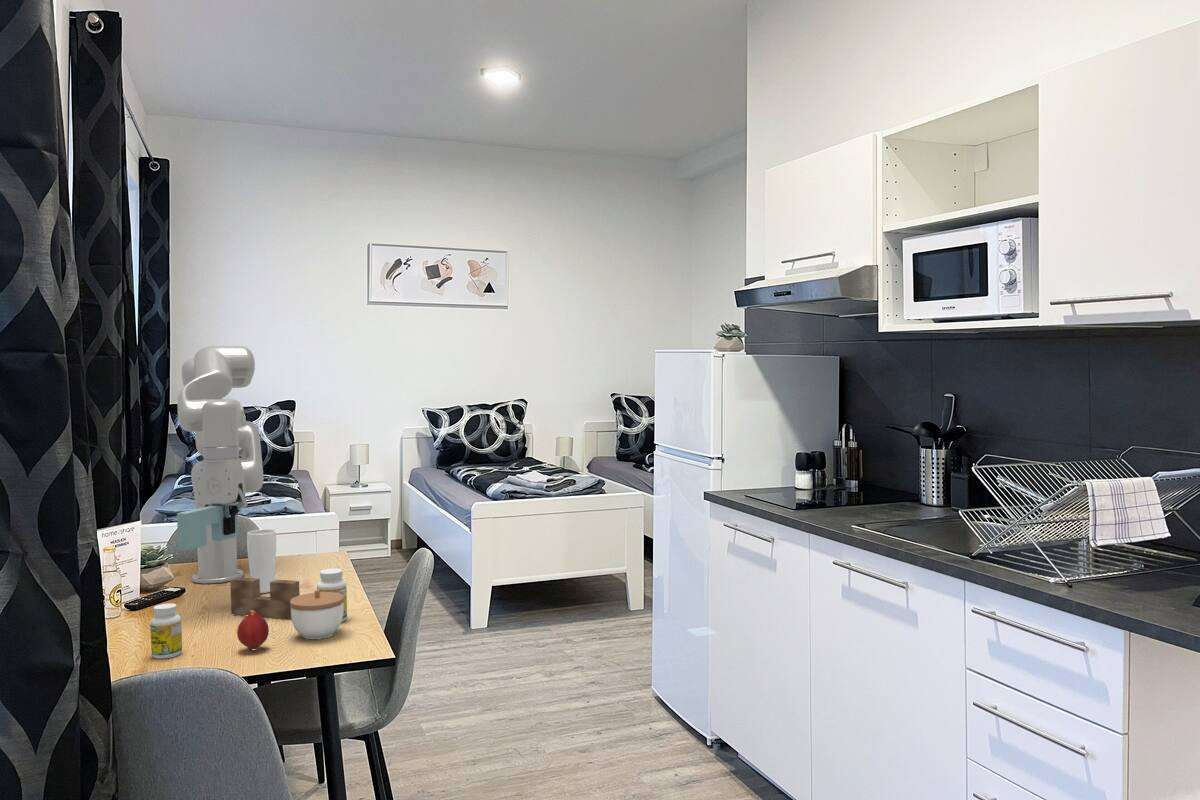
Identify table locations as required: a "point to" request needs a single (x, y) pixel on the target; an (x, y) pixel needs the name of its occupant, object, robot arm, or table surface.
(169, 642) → the supplement bottle
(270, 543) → the drinking glass
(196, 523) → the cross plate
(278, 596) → the slotted stand
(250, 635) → the onion
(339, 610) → the lidded jar
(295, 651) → the table surface
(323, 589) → the pill bottle
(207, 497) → the robot arm
